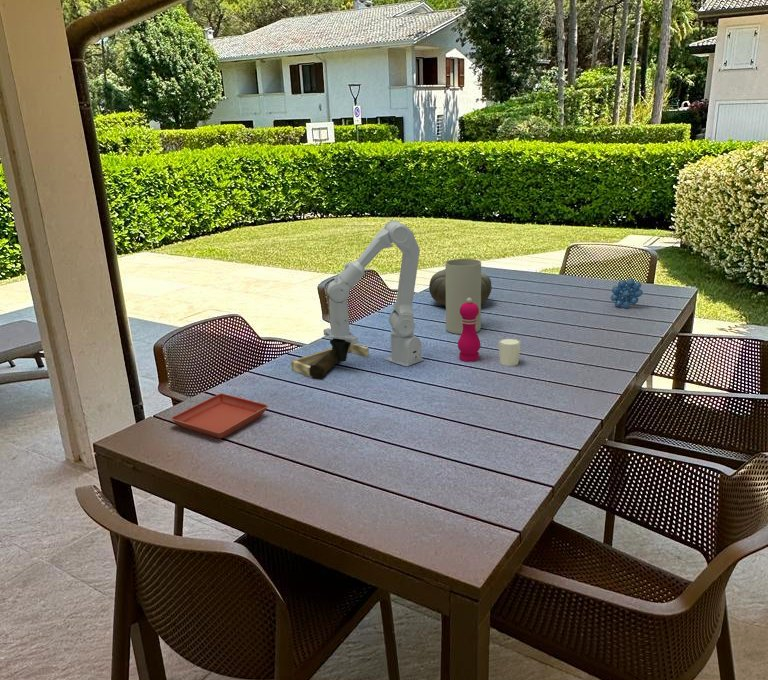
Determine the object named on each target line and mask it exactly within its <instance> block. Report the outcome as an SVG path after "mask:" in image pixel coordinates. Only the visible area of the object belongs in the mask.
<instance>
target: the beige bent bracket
mask: <svg viewBox="0 0 768 680" xmlns="http://www.w3.org/2000/svg"><path fill="white" fill-rule="evenodd" d="M331 350H332V347H330V348H327V349H325V350H321V351H318V352H317V351H316V352H314V353H311V354H308V355H305V356H302V357H299V358H296V359H294V360H291V361H290V362H291V363H290V364H291V370H292V371H294V372H297V373H298V374H301V375H304V376H306V377H309V378H312V376H311V375H310V366H311V365H314V364H316V363H317V362H318V361H319V360H321V359H322V358H323V357H324V356H326V355H327V354H328V353H329V352H330V351H331ZM348 353H352V354H355V355H358V356H361V357H365V358H368V357H370V351H369V347H368V346H364V345H361V344H359V343H357V344H354V345H353V344H350V347H349V349H348V352H347V354H348Z"/></svg>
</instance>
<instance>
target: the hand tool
mask: <svg viewBox="0 0 768 680" xmlns="http://www.w3.org/2000/svg"><path fill="white" fill-rule="evenodd" d="M331 348H332V350H331V351H330V352H329V353H328V354H327V355H326V356H324V357H323V358H322V359H321V360H319V361H318V362H317V363H316V364H313V365H310V375H311V378H312V379H318V380H320V379H323V378H324V377H325V376H326V374H327V373H328V371H330V369H332V368H333V367H334V366H335V365H336V364H337V363H338V362H339V361H338V359H337V356H336V353H335V350H334V348H333V347H332V346H331ZM339 363H340V362H339Z"/></svg>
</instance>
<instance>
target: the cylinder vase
mask: <svg viewBox="0 0 768 680" xmlns="http://www.w3.org/2000/svg"><path fill="white" fill-rule="evenodd" d="M445 269H446V306H445V329H446V330H447V332H448V333H451V334H455V335H461V334H462V331H463V323H462V322H461V321H462V320H461V318H462V316H461V315H460V307H461V305H462V304H464V303H467V301H466V300H467V298H471V299H472V303H475V304H476V305H477V306H478V308H479V313H478V315H477V316H476V317H477V323H476V333H477V332H480V330H481V323H482V321H481V320H482V317H481V316H482V314H481V313H482V311H481V310H482V304H481V273H482V260H479V259H474V258H455V259H450V260H449V259H448V260H446V261H445Z"/></svg>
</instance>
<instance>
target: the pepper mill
mask: <svg viewBox="0 0 768 680" xmlns="http://www.w3.org/2000/svg"><path fill="white" fill-rule="evenodd" d="M466 301H467V303H464V304H462V305H461V307H460V315H461V316H462V318H461V320H462V321H461V322H462V323H463V331H462V334H460V336H459V338H458V342H457V348H458V350H459V351H460V352H459V357H458V358H459V360H460V361H463V362H469V363H470V362H471V363H472V362H476V361H478V360H479V359H480V353H479V350H480V349H481V341H480V338H479V336H478V333H477V332H476V323H477V317H476V316H477V315H478V313H479V308H478V306H477V305H476V304H475V303H472V299H471V298H467V300H466Z"/></svg>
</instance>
